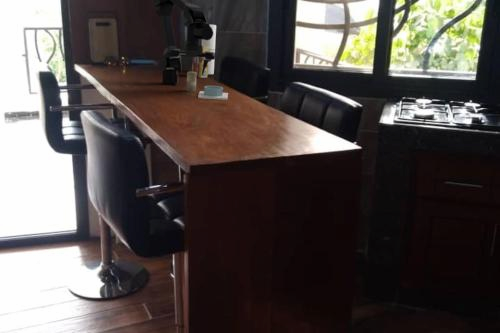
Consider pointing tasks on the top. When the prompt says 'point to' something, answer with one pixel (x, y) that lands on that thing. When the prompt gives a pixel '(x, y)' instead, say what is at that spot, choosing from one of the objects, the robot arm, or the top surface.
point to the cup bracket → (213, 93)
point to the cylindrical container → (210, 48)
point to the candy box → (200, 64)
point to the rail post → (191, 81)
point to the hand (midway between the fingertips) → (191, 74)
